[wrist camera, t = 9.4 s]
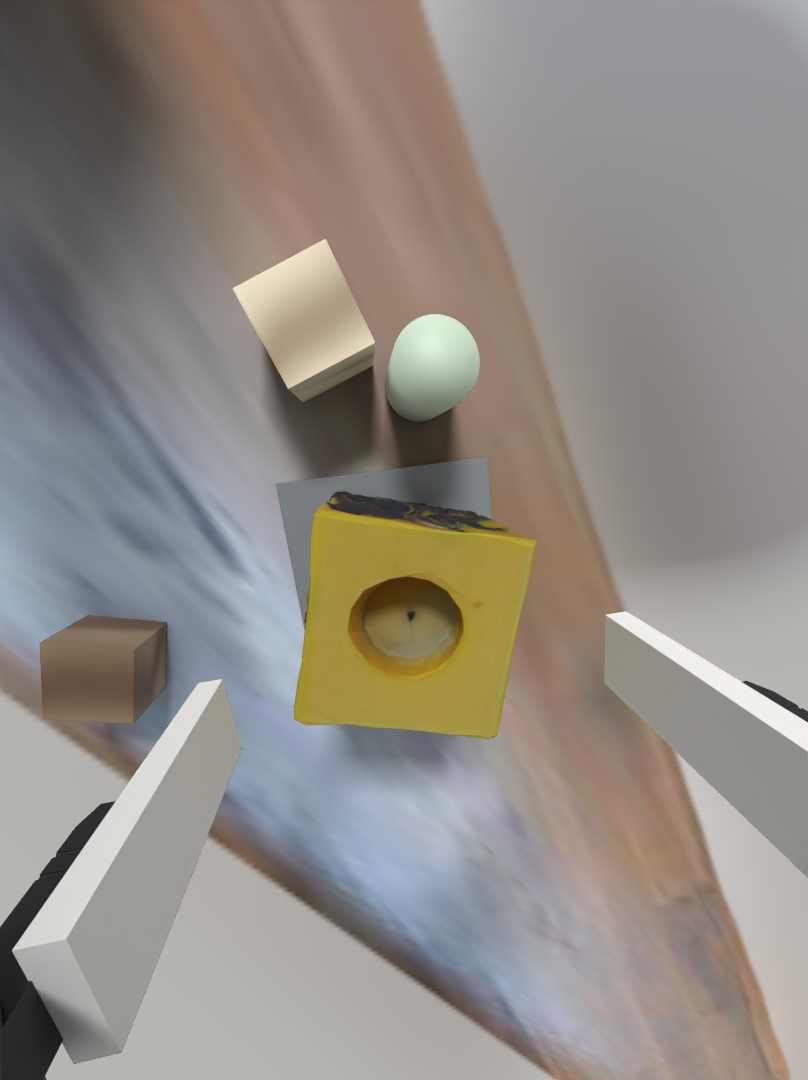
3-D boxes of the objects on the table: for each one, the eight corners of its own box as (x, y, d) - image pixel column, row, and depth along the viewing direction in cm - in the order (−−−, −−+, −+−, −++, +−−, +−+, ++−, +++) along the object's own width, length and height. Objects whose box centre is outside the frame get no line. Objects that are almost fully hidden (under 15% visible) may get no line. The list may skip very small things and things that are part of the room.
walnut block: (89, 614, 25) (39, 643, 21) (168, 621, 26) (133, 650, 22) (90, 680, 26) (43, 718, 22) (166, 685, 27) (133, 723, 23)
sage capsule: (380, 353, 24) (386, 318, 18) (448, 346, 24) (476, 310, 18) (389, 425, 25) (397, 415, 19) (454, 417, 25) (482, 405, 19)
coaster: (277, 483, 25) (275, 483, 24) (484, 457, 26) (487, 456, 25) (314, 671, 28) (313, 676, 27) (497, 641, 29) (499, 645, 28)
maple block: (260, 324, 23) (232, 288, 18) (333, 285, 23) (325, 238, 18) (303, 402, 24) (287, 388, 19) (372, 366, 24) (375, 342, 19)
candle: (453, 644, 28) (501, 744, 18) (316, 631, 26) (287, 732, 17) (480, 509, 26) (550, 541, 16) (332, 488, 24) (311, 508, 15)
